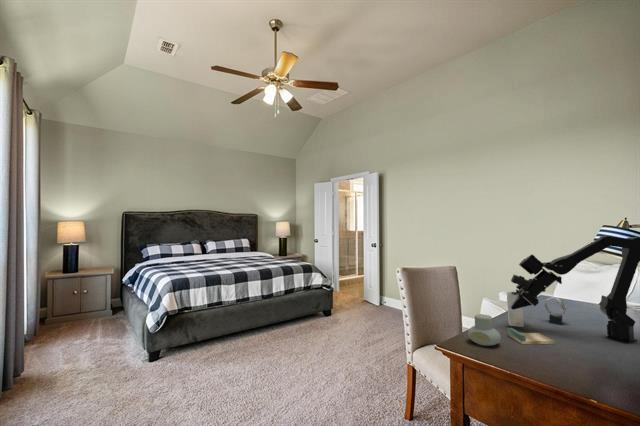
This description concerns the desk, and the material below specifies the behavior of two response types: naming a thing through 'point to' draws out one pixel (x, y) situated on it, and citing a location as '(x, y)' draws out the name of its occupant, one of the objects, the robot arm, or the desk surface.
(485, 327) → the air freshener
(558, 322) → the watch
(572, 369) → the desk surface
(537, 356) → the desk surface
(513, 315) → the grey tall block
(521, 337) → the stand
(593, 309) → the desk surface
